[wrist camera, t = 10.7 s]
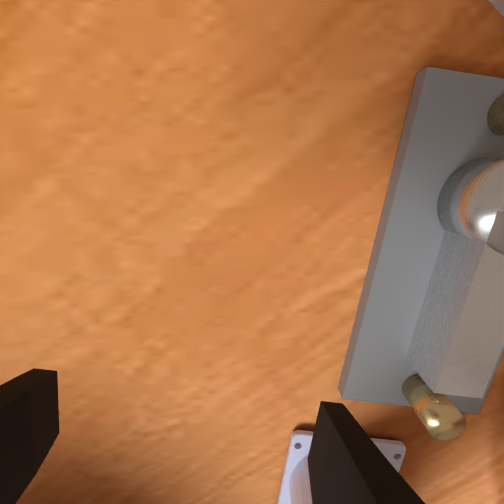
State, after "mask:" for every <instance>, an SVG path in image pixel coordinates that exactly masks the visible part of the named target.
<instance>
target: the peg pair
mask: <svg viewBox="0 0 504 504" xmlns="http://www.w3.org/2000/svg"><path fill="white" fill-rule="evenodd" d="M487 123H488V126H489V128H490V130H491V131H492V132H493V133H494V134H496V135H499V136H504V94H503V95H501V96H499V97H498V98H497V99H496V100H495V101H494V102H493V103H492V104H491V106H490V108H489V110H488V114H487ZM402 393H403V395H404V397H405V398H406V400H407V401H408V403H409V404H410V406H411V407H412V409H413V410H414V412H415V413H416V414H417V416H418V417H419V419H420V420H421V422H422V423H423V425H424V426H425V428H426V429H427V431H428V432H429V434H430V435H431V436H432V437H433V438H434V439H436V440H440V441H448V440H452V439H454V438H456V437H458V436H459V435H460V434H461V433H462V432H463V431H464V429H465V426H466V420H465V418H464V416H463V415H462V414H461V413H460V411H459V410H458V409H457V408H456V407H455V406H454V404H453V403H452V402H451V401H450V400H449V399H448V397H447V396H446V395H445V394H439V393H433V391H432V390H431V389H430V388H429V386H428V385H427V384H426V383H425V381H424V380H423V379H422V378H421V377H420V375H419V374H414V375H411V376H409V377H408V378H407V379H406V380H405V381H404V382H403V384H402Z"/></svg>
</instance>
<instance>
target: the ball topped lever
mask: <svg viewBox="0 0 504 504" xmlns="http://www.w3.org/2000/svg"><path fill="white" fill-rule="evenodd" d="M437 214H438V218H439V221H440V223H441V225H442V227H443V228H444V230H445V232H444V236H443V239H442V242H441V245H440V249H439V252H438V255H437V258H436V261H435V265H434V268H433V271H432V274H431V278H430V281H429V284H428V287H427V291H426V294H425V297H424V300H423V303H422V307H421V310H420V313H419V316H418V320H417V323H416V326H415V329H414V333H413V336H412V339H411V342H410V346H409V349H408V352H407V355H406V359H407V361H408V362H409V363H410V364H411V365H412V367H413V368H414V369H415V370H416V372H417V373H418V374H419V375H420V377H421V378H422V379H423V380H424V381H425V383H426V384H427V385H428V386H429V388H430V389H431V390H432V391H433V393H439V394H447V395H456V396H464V397H473V398H481V399H482V398H483V395H484V393H485V390H486V388H487V385H488V383H489V380H490V378H491V375H492V373H493V370H494V368H495V365H496V363H497V360H498V358H499V355H500V353H501V350H502V348H503V345H504V157H487V158H478V159H474V160H471V161H469V162H467V163H465V164H463V165H462V166H460V167H459V168H457V169H456V170H455V171H454V172H453V173H452V174H451V175H450V176H449V177H448V178H447V180H446V181H445V183H444V184H443V186H442V188H441V190H440V193H439V196H438V201H437Z"/></svg>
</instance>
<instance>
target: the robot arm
mask: <svg viewBox="0 0 504 504" xmlns="http://www.w3.org/2000/svg"><path fill="white" fill-rule="evenodd" d="M58 434H59V411H58V382H57V371H52V370H43V369H32V370H30V371H28V372H26V373H24V374H22V375H20V376H18V377H16V378H14V379H12V380H10V381H8V382H6V383H4V384H2V385H0V504H15V503H16V502H17V500H18V499H19V498H20V496H21V495H22V493H23V492H24V490H25V489H26V488H27V486H28V485H29V483H30V482H31V480H32V479H33V477H34V476H35V475H36V473H37V471H38V469H39V468H40V466H41V464H42V463H43V461H44V459H45V457H46V456H47V454H48V452H49V450H50V449H51V447H52V445H53V443H54V441H55V439H56V438H57V436H58ZM296 443H299V444H296ZM405 453H406V447H405V445H404V444H403V443H402V442H401V441H395V440H386V439H377V438H370V437H369V436H368V435H367V434H366V432H365V431H364V430H363V429H362V427H361V426H360V425H359V423H358V422H357V421H356V420H355V418H354V417H353V416H352V415H351V413H350V412H349V411H348V410H347V408H346V407H345V406H344V405H343V404H342V403H333V402H324V401H321V403H320V408H319V412H318V416H317V420H316V424H315V429H314V432H313V431H304V430H296V431H294V432H293V433H292V435H291V440H290V444H289V449H288V454H287V458H286V463H285V468H284V473H283V477H282V482H281V487H280V491H279V496H278V501H277V504H425V503H424V502H423V501H422V500H421V498H420V497H419V496H418V495H417V494H416V493H415V492H414V490H413V489H412V488H411V487H410V486H409V485H408V483H407V482H406V481H405V480H404V479H403V478H402V476H401V475H400V474H399V470H400V467H401V464H402V461H403V459H404V456H405Z"/></svg>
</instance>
